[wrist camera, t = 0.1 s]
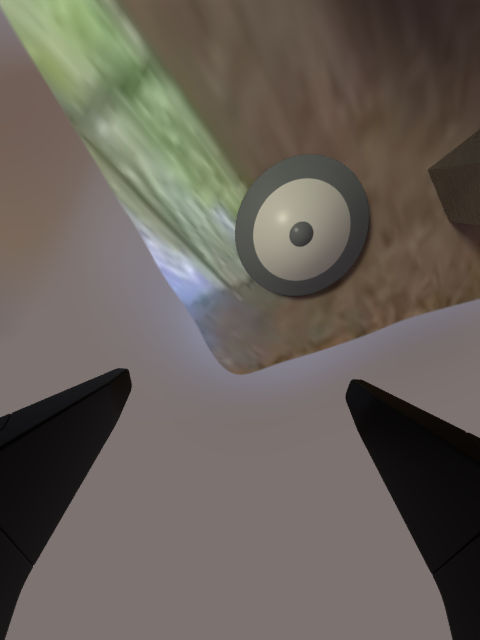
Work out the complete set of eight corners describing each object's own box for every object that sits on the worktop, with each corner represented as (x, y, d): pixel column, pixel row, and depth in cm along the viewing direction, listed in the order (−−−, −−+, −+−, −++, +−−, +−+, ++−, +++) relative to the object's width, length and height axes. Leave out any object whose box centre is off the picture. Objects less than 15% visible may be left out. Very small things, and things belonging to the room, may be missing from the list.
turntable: (238, 152, 18) (238, 149, 17) (379, 160, 18) (389, 158, 17) (233, 288, 23) (233, 293, 22) (344, 293, 23) (349, 298, 22)
